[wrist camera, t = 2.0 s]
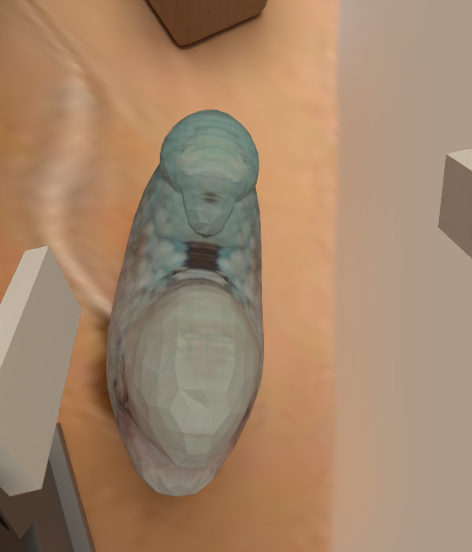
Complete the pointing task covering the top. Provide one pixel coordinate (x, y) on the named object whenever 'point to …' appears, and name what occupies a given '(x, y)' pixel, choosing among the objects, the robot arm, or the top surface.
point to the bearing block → (50, 508)
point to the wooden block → (203, 16)
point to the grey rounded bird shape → (190, 307)
